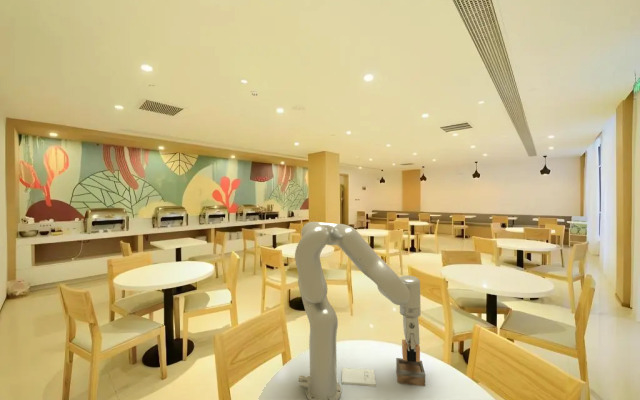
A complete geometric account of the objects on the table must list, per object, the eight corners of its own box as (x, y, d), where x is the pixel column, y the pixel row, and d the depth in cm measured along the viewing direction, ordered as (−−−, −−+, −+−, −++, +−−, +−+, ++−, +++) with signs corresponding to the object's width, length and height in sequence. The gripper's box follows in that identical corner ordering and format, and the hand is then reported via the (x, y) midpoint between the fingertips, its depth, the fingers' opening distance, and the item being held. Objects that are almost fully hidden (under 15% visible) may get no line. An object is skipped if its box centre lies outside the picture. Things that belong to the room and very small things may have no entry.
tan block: (403, 360, 102) (403, 345, 102) (402, 353, 107) (401, 339, 107) (420, 361, 101) (419, 347, 101) (418, 354, 106) (418, 340, 105)
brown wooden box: (397, 382, 101) (397, 370, 101) (396, 368, 109) (396, 357, 109) (425, 386, 99) (425, 374, 99) (421, 371, 107) (421, 360, 107)
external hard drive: (342, 371, 109) (373, 373, 108) (341, 385, 101) (376, 387, 100) (342, 367, 109) (373, 368, 108) (341, 381, 101) (375, 383, 99)
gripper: (424, 320, 94) (424, 372, 95) (417, 301, 111) (417, 345, 112) (401, 319, 96) (402, 369, 97) (398, 300, 113) (398, 343, 113)
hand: (410, 356), depth 104 cm, fingers closed on tan block, 4 cm apart
